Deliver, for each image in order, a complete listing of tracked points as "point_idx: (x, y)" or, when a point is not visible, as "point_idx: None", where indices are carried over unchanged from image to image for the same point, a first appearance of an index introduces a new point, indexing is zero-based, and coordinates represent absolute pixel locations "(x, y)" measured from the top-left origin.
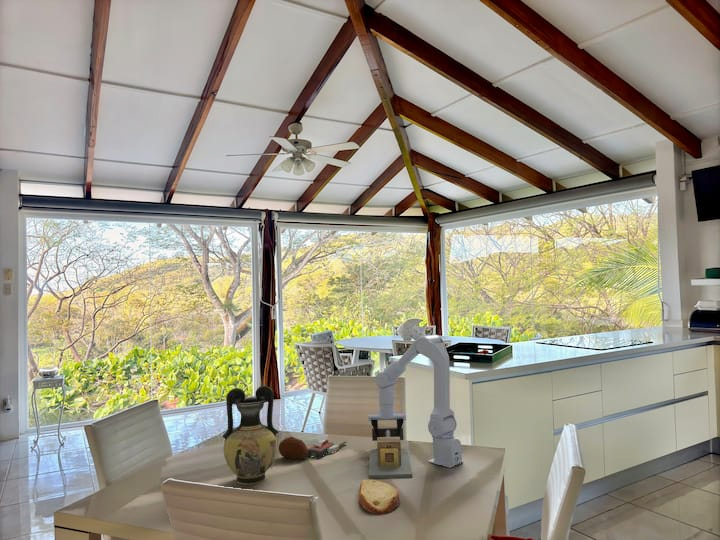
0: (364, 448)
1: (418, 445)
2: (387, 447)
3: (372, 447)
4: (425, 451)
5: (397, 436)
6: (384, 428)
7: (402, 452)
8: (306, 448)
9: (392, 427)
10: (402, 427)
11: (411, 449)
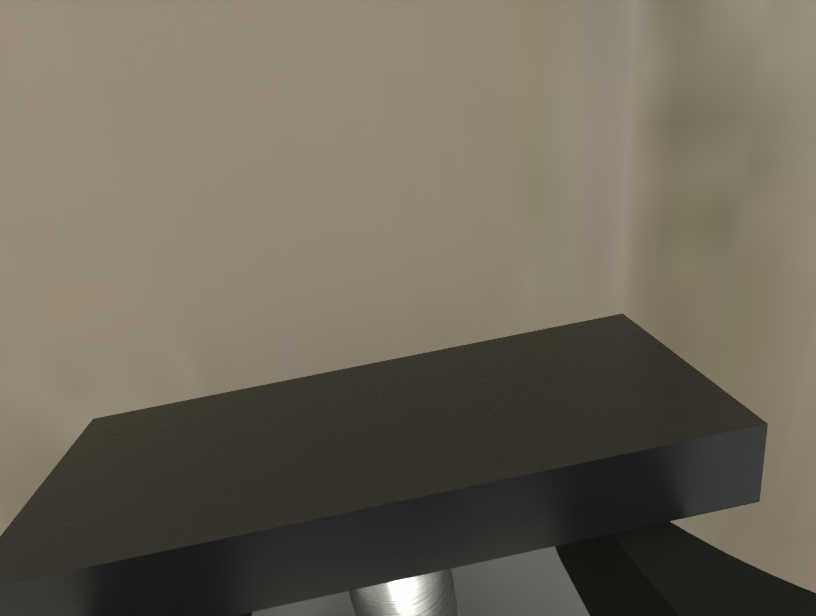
0: (32, 403)
1: (776, 181)
2: None
3: (133, 347)
4: (809, 411)
5: (573, 572)
6: (315, 586)
7: (571, 584)
8: None
9: (508, 481)
10: (757, 448)
11: None
